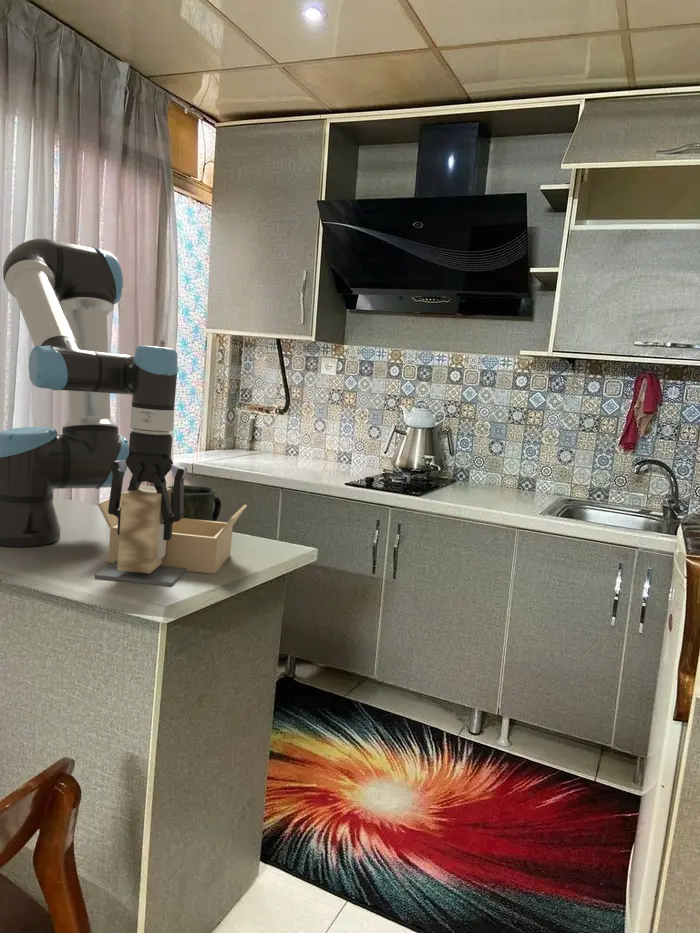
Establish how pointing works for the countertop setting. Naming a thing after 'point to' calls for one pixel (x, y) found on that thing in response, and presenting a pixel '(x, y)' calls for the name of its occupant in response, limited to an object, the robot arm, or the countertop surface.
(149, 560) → the block
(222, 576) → the countertop surface
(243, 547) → the countertop surface
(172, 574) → the mat
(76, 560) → the countertop surface
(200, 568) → the carton
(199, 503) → the mug
